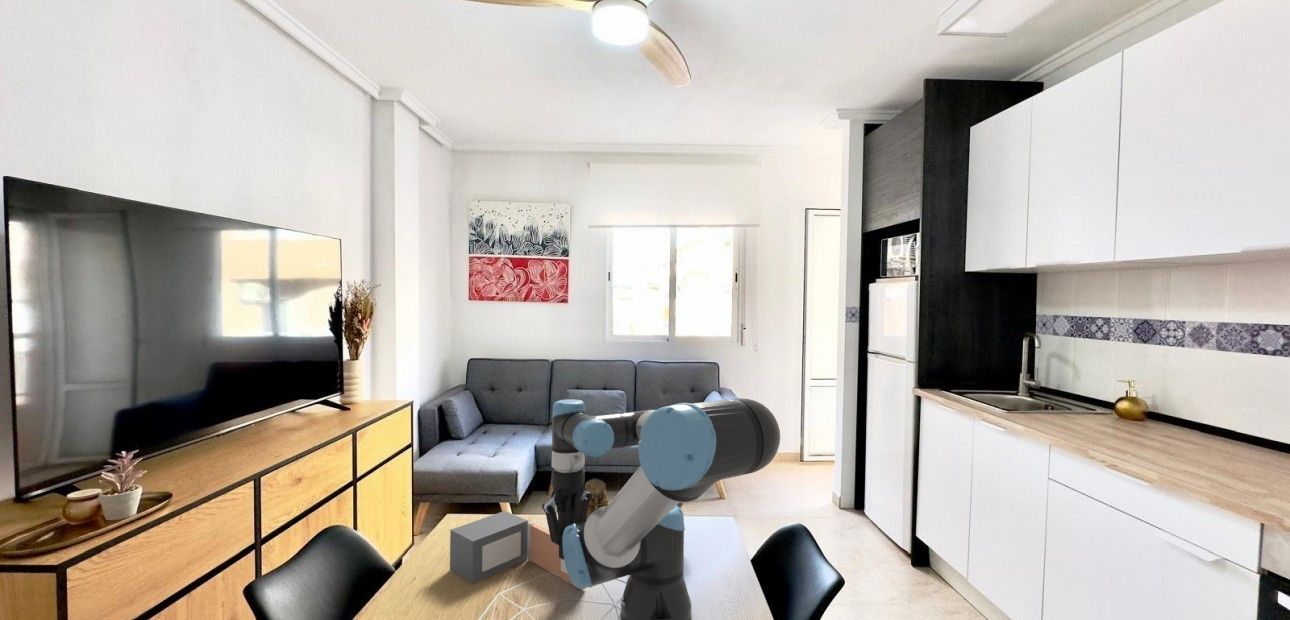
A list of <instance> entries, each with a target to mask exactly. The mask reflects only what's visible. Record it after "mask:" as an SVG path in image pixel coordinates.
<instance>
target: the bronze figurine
mask: <svg viewBox="0 0 1290 620" xmlns="http://www.w3.org/2000/svg"><path fill="white" fill-rule="evenodd" d="M584 490H585V491H586V492H589V493H591V494H592V498H591V500H590V502H589V505H588V511H587V516H586V520H587V518H588V517H589V516H590V515H591V513H592V512H594V511H595V510H596V509H598V508H600V507H603V506H608V505H609V496H608V494H607V492H608V491H607V485H606V483H605V481H603V480H602V479H599V478H596V477H593V478H592V479H589V480H587V481H585V482H584Z"/></svg>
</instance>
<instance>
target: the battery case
mask: <svg viewBox="0 0 1290 620" xmlns="http://www.w3.org/2000/svg"><path fill="white" fill-rule="evenodd" d="M528 523H529V520H528V519H525V518H522V517H521V516H518V515H515V514H514V513H511V512H508V511H506V510H503V511H501V512H498V513H495V514H492V515H488V516H486V517H483V518H481V519H478V520H474V521H471V522H468V523H466V524H462V525H460V526H458V527H457V526H456V527H455V528H451V529H450V531H449V532H450V533H449V534H450V536H449V537H450V539H449V542H450V543H449V571H450V572H452V573H454V574H455V575H457V576H458V577H461V578H462V579H464V580H465V581H467V582H468V583H471V585H474V584H476V583H478V582H481V581H483V580H484V579H487V578H490V577H492V576H493V575H496V574H498V573H500V572H502V571H505V570H507V569H509V568H511V567H513V566H515V565H518V564H520V563H522V562H524V561H528Z"/></svg>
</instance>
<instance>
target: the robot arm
mask: <svg viewBox="0 0 1290 620" xmlns="http://www.w3.org/2000/svg"><path fill="white" fill-rule="evenodd" d="M585 403H586V402H584V401H583V400H581V399H571V398H570V399H560V400H557V401H555V402H554V403H553V406H552V416H551V421H552V422H551V423H552V424H551V426H552V427H551V446H552V447H551V468H552V469H551V486H552V492H551V496H550V500H549V501H548V502H546V503H545V502H544V503H542V504H541V509H542V510H543V511H544V513H545V517H546V522H547V527H548V531H549V532H550V537H551V541H552V542H553V543H555V544H557V545H559V558H561V570H562V571H563V572H565V573H567V574H568V575H569V577H570V580H571V581H572V583H573V585H572V586H574V587H575V588H576V589H579V590H580V589H582V588H585V589H588V588H593V587H595V586H597V585H601V584H604V583H607V582H610V581H613V580H616V579H621V578H623V577H627V576H628V577H627V581H626V585H625V588H624V589H623V590H624V591H623V594H622V597H621V601H620V615H621V617H623V618H622V619H623V620H691V617H692V600H691V597H690V595H689V592H688V591H689V590H688V587H687V585H686V581H685V577H684V576H685V575H684V567H685V566H684V565H685V564H684V559H685V557H684V551H685V549H684V548H685V547H684V544H685V543H684V540H685V539H684V538H685V534H684V533H685V531H686V528H685V521H684V520H685V519H684V518H685V517H684V512H683V510H682V508H681V509H680V508H679V507H678V506H677V504H678V503H679V502H680V503H683V504H685V503H690V502H694V501H696V500H697V499H699V498H700V497H701V496H703V494H704V493H705V492H707V491H708V490H709V489H710V487H712V486H713V485H714V484H716V483H717V482H719V481H722V480H725V479H726V480H727V479H730V478H735V477H739V476H744V475H748V474H752V473H756V472H758V471H760V470H762V469H763V468H765V467H766V466H768V465H769V464H770V463H771V462H772V461H773V460H774V458H775V456H776V454H777V453H778V451H779V447H780V443H781V429H780V426H779V423H778V421H777V418H776V417H775V416H774V414H773V413H772V412H771V410H770V409H769V408H768V407H766V406H765V405H764V404H763V403H761V402H758V401H756V400H753V399H749V398H743V397H741V398H740V397H738V398H728V399H720V400H718V399H717V400H710V401H703V402H702V401H701V402H693V403H689V402H678V403H673V404H671V405H667V406H663V407H659V408H657V409H642V410H640V411H639V410H637V411H629V412H621V413H609V414H598V415H589V414H587V409H586V404H585ZM637 446H638V447H637ZM627 447H628V448H629V447H637V448H638V449H637V451H638V458H639V463H640V465H639V466H638V468H637V469H636V471H635V472H634V473H633V474H632V475H631V477H630V478H629V479H628V480H627V481H626V483H625V484H624V486H622V488H621V489H620V490H619V492H618V493H617V494H616V495H615V496H614V497H613V499H612V500H611V501H610V503H608V506H603V507H600V508H598V509H596V510H595V511H594V512H592V513H591V515H590V516H589V517H588V518H587V520H586V516H587V511H588V505H589V502H590V500H591V498H592V494H591V493H589V492H587V490H585V482H586V481H585V480H586V479H585V475H586V473H585V472H586V470H585V468H584V467H585V463H586V462H585V461H586V458H585V457H586V455H587V457H588V456H590V457H593V458H598V457H599V458H600V457H603V456H605V455H606V454H607V453H608V452H610V450H615V449H616V450H617V449H623V448H627Z"/></svg>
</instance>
